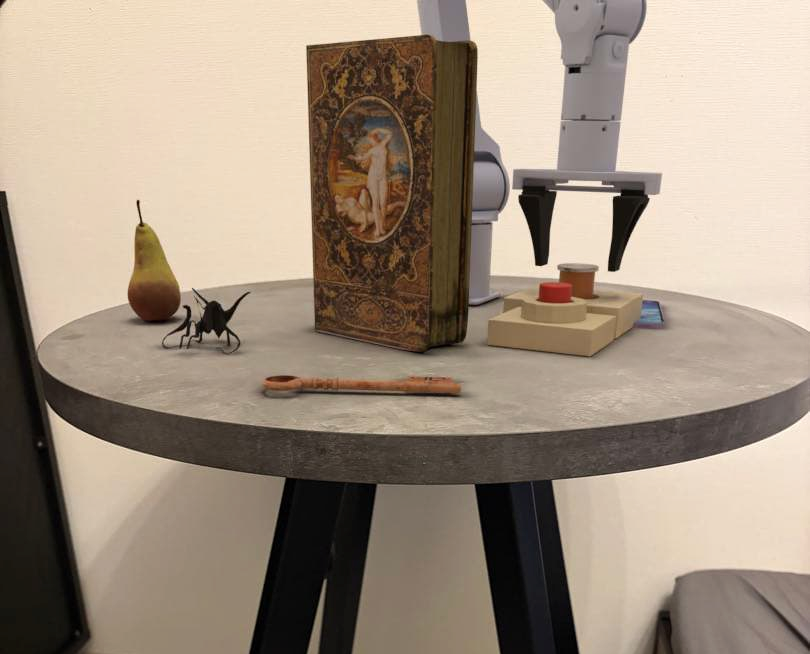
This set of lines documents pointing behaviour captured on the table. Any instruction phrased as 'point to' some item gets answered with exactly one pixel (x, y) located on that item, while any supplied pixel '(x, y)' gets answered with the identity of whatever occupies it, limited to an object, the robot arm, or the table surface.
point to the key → (364, 384)
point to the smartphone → (650, 316)
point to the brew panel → (552, 327)
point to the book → (392, 188)
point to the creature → (209, 322)
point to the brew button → (555, 292)
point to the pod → (579, 278)
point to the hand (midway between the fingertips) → (576, 267)
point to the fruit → (152, 278)
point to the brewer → (596, 306)
